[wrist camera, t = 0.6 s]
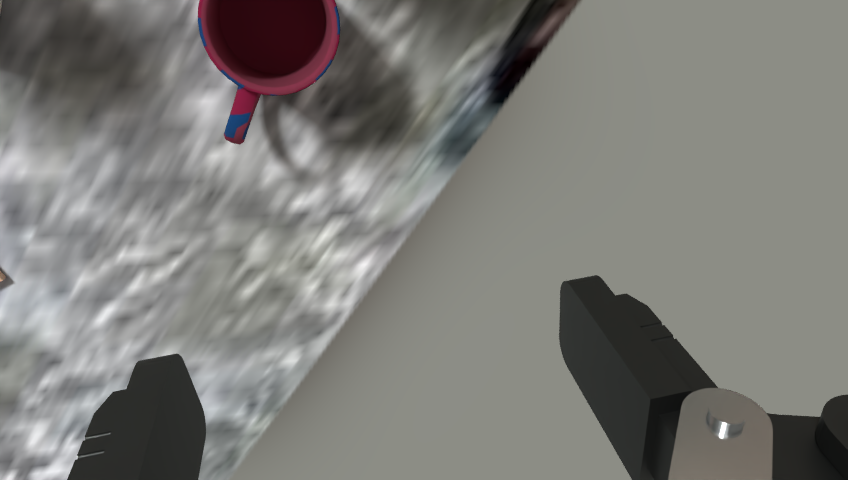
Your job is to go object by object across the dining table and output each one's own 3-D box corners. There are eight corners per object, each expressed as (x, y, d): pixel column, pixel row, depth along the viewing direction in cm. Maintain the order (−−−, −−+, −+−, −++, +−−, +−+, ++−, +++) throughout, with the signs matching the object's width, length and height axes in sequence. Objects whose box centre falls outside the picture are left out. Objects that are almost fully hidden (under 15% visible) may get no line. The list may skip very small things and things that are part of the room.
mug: (350, -1, 35) (363, -1, 29) (277, 145, 38) (275, 174, 31) (243, -67, 33) (234, -82, 27) (172, 94, 35) (148, 114, 29)
